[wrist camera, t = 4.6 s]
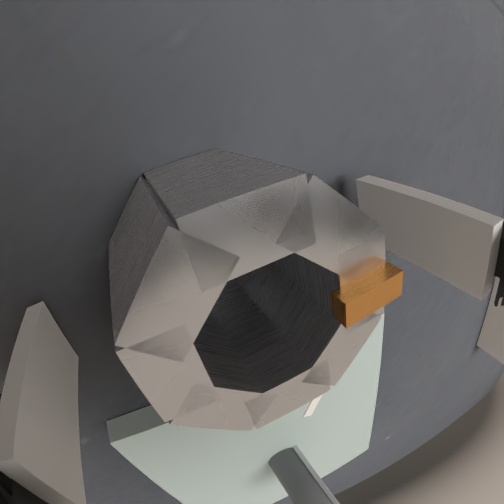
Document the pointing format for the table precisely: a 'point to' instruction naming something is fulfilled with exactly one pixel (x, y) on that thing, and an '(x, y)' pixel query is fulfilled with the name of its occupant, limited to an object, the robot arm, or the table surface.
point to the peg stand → (259, 444)
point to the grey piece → (242, 288)
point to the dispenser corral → (493, 328)
